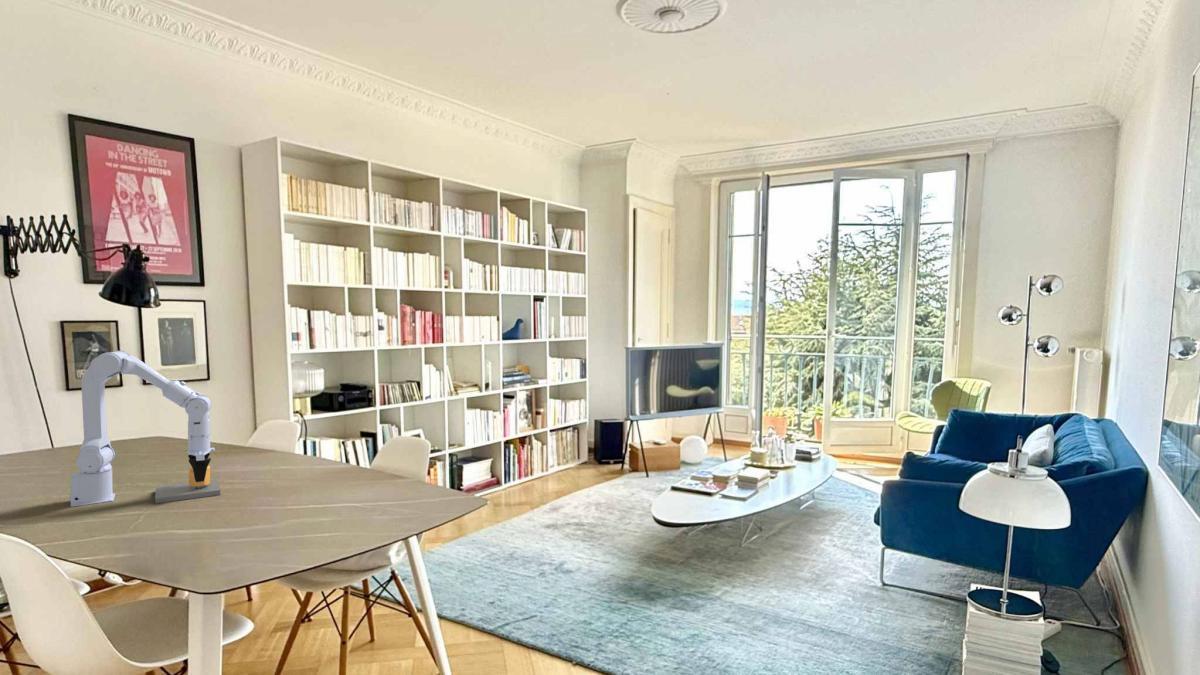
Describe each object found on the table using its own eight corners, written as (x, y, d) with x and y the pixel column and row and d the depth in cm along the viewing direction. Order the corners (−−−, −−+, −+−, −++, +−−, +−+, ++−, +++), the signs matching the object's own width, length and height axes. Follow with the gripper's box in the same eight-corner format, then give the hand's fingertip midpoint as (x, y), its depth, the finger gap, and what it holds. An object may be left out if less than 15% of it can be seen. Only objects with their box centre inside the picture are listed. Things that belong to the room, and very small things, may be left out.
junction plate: (155, 503, 176) (155, 488, 175) (156, 491, 187) (155, 477, 187) (220, 494, 185) (220, 480, 185) (217, 483, 196) (217, 470, 196)
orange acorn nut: (189, 487, 184) (189, 470, 184) (188, 482, 188) (188, 466, 188) (210, 484, 187) (210, 468, 187) (209, 480, 191) (209, 464, 191)
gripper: (216, 438, 183) (216, 482, 184) (213, 430, 195) (213, 472, 196) (187, 440, 179) (188, 486, 180) (186, 432, 191) (187, 475, 192)
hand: (199, 479), depth 187 cm, fingers closed on orange acorn nut, 5 cm apart
